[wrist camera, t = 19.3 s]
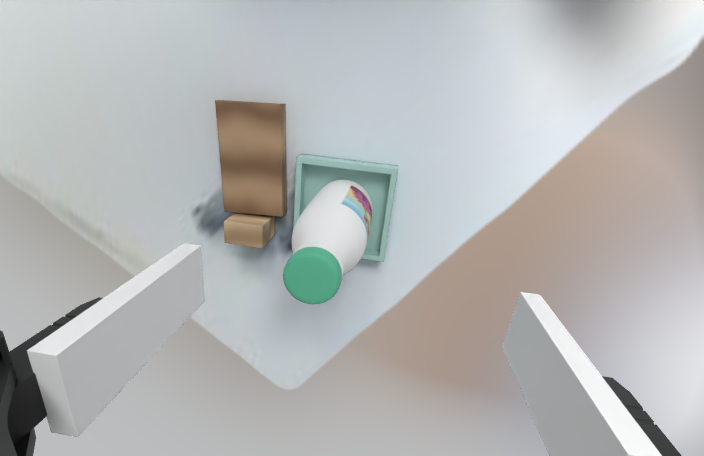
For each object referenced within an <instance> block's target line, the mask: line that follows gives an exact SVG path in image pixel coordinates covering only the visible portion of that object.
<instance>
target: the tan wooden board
mask: <svg viewBox="0 0 704 456" xmlns="http://www.w3.org/2000/svg"><path fill="white" fill-rule="evenodd" d="M215 103H216V115H217V127H218V139H219V151H220V163H221V175H222V187H223V199H224V211H225V212H236V213H247V214H259V215H270V216H282V217H283V216H284V215H285V214H286V212H287V180H286V111H285V104H275V103H258V102H241V101H224V100H215Z"/></svg>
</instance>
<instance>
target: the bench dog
mask: <svg viewBox="0 0 704 456" xmlns="http://www.w3.org/2000/svg"><path fill="white" fill-rule="evenodd" d="M274 234H275V216H270V215H259V214H247V213H235V214H233V215H232V216H231V217H229V218H228V219H226V220H225V221H224V239H225V243H228V244H236V245H243V246H250V247H257V248H263V247H264V246H265V245H266V244H267V242H268V241H269V240H270V239H271V238H272V237H273V236H274Z"/></svg>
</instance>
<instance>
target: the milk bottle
mask: <svg viewBox="0 0 704 456" xmlns="http://www.w3.org/2000/svg"><path fill="white" fill-rule="evenodd" d="M372 213H373V205H372V201H371V198H370V196H369V194H368V192H367V191H366V190H365V189H364V188H363V187H362V186H361V185H359V184H358V183H356V182H353V181H350V180H335V181H332V182H330V183H328V184H326V185H325V186H324V187H323V188H322V189H321V190H320V191H319V192H318V193H317V194H316V196H315V197H314V198H313V199H312V201H311V202H310V203H309V204H308V206H307V207H306V208H305V210H304V211H303V212H302V214H301V215H300V217H299V218H298V220H297V222H296V224H295V227H294V229H293V234H292V250H293V254H292V256H291V257H290V259H289V260H288V262H287V264H286V266H285V268H284V274H283V278H284V283H285V286H286V288H287V290H288V291H289V293H290V294H291V295H292V296H293V297H295V298H296V299H298V300H299V301H301V302H304V303H308V304H320V303H324V302H326V301H328V300H329V299H331V298H332V297H333V296H334V295H335V294H336V292H337V291H338V289H339V286H340V283H341V279H342V276H343V275H344V274H346V273H347V272H349V271H350V270H352V269H353V268H354V267H355V266H356V265H357V263H358V262H359V261H360V259H361V257H362V255H363V253H364V251H365V248H366V244H367V241H368V236H369V231H370V225H371V220H372Z"/></svg>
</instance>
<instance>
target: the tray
mask: <svg viewBox="0 0 704 456" xmlns="http://www.w3.org/2000/svg"><path fill="white" fill-rule="evenodd" d="M397 172H398V166H397V165H388V164H380V163H372V162H364V161H356V160H347V159H339V158H331V157H323V156H315V155H306V154H301V155H299V156H297V158H296V181H295V204H294V226H293V229H294V227H295V224H296V222H297V220H298V218H299V217H300V215H301V214H302V212H303V211H304V210H305V208H306V207H307V206H308V204H309V203H310V202H311V201H312V199H313V198H314V197H315V196H316V194H317V193H318V192H319V191H320V190H321V189H322V188H323V187H324V186H325V185H326V184H328V183H330V182H332V181H335V180H350V181H353V182H356V183H358V184H359V185H361V186H362V187H363V188H364V189H365V190H366V191H367V192H368V194H369V196H370V198H371V201H372V205H373V213H372V220H371V225H370V231H369V236H368V241H367V244H366V248H365V251H364V253H363V255H362V257H361V259H367V260H374V261H381V262H384V258H385V251H386V244H387V238H388V231H389V225H390V218H391V211H392V205H393V198H394V192H395V185H396V178H397Z"/></svg>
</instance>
